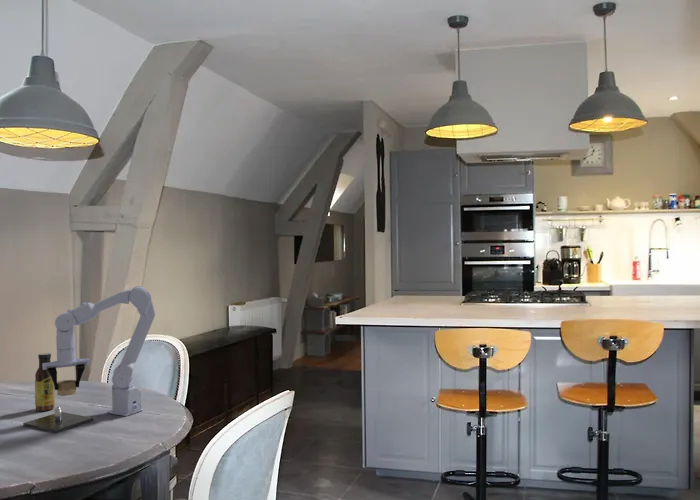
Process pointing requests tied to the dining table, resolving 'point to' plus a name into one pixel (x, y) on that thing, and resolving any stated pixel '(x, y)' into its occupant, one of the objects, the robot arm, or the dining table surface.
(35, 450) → the dining table surface
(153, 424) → the dining table surface
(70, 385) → the ring
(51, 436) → the dining table surface
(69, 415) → the hub
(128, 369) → the robot arm
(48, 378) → the sauce bottle
